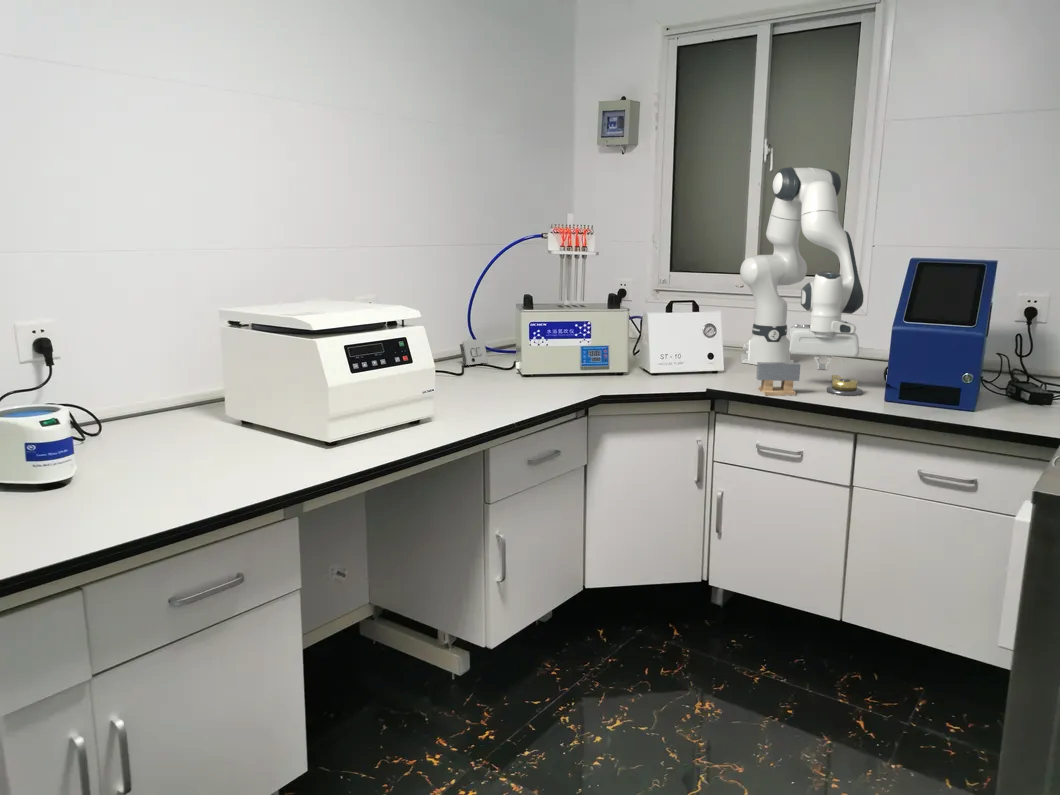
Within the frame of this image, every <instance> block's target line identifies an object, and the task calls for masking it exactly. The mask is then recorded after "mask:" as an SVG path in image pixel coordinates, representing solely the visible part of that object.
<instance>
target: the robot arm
mask: <svg viewBox="0 0 1060 795" xmlns="http://www.w3.org/2000/svg"><path fill="white" fill-rule="evenodd" d="M773 176H774V177H773V179H772V184H771V187H772V188H771V189H772V193H773V195H774V197H775V198H774V201H773V203H772V208H771V211H770V214H769V220H768V223H767V227H766V232H765V236H766V239H767V240H768V241H769V243H771V244H773V245H772V246H773V253H772V254H757V255H753V256H750V257H747V258H745V259H744V260H743V262H742V263H741V266H740V270H739V274H740V278H741V280H742V282H743V283H744V284H745V285H747V287H748V288H749V289H750V291H751V294H752V296H753V300H754V301H753V302H754V323H753V324H752V328H751V333H752V334H751V336H750V338H749V339H748V341H747V342H746V343H743V344H742V350H743V351H745V353H741V354H740V362H741V363H742V364H747V365H749V364H750V365H754V366H755V365H756V366H757V362H786V363H795V361H794V359H791V355H804V356H806V355H807V356H813V357H814V358H813V359H814V361H815V363H816V365H817V366H816V369H817V370H818V371H828V370H829V369H828V366H829V365H830V363H831V361H832V360H833V357H839V358H840V357H841V358H842V357H844V358H857V357H858V356H859V354H860V343H859V342H860V341H859V337H858V334H857V333H856V331H857V325H856V324H854V323H851V322H849V321H844V320H842V314H848V315H849V314H850V315H852V314H854V313H855V312H857V311H858V310H859V309H860V308H861V307H862V306H863V305H864V290H863V287H862V283H861V280H860V278H859V273H858V266H857V260H856V255H855V250H854V246H853V242H852V237H851V236H850V234H849V232H848V231H846V230H844V228H843V227H842V225H841V222H840V219H839V206H838V196H839V194H840V191H841V188H842V180H841V176H840V175H839V173H838V172H836V171H834V170H831V169H822V168H816V167H792V166H791V167H783V168H780V169H779V170H777V172H776V173H775V174H774V175H773ZM801 233H802V234H803V236H804V238H806V239H807V240H808V241H809V242H810V243H813V244H814V245H816V246H819V247H822V248H824V249H825V248H826V249H828V250H829V251H831V252H832V253H834V254H835V255H836V256H837V258H838V261H839V265H840V270H841V271H840V272H841V274H840V273H839V272H835V271H829V270H828V271H820V272H817V273H816V274H815V275H814V278H813V279H814V280H813V281H811V282H807V283H806V284H805V285H804V286H803V287H802V288H801V292H800V305H801V307H802V308H803V309H805V310H806V311H807V312H811V314H810V320H809V321H810V322H809V323H810V324H797V323H796V324H795V325H793V326H791V327H790V328H789V333H788V325H787V318H788V317H787V315H788V303H787V301H786V300H785V299H784V298H782V297H781V296H780V295H779V292H778V286H779V287H780V286H791V285H794V284H798V283H800V282H802V281H803V280H804V279H805V277H806V276H807V272H808V266H807V261H806V260H805V259H804V258H803V256H802V255H801V252H800V246H799V241H800V240H799V238H800V234H801ZM788 334H789V337H790V339H789V338H788V337H787V335H788ZM821 356H822V357H824V356H825V357H826V359H827V361H826V362H825V363H821V362H820V361H819V359H820V357H821Z"/></svg>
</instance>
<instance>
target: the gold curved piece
mask: <svg viewBox="0 0 1060 795" xmlns="http://www.w3.org/2000/svg"><path fill="white" fill-rule="evenodd" d="M831 382H832V385H831V386H832V388H833V389H836V390H841V391H855V390H857V388H858V380H856V379H852V378H843V377H841V376H840V375H838V374H832V375H831Z"/></svg>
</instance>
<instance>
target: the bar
mask: <svg viewBox="0 0 1060 795" xmlns="http://www.w3.org/2000/svg"><path fill="white" fill-rule="evenodd" d="M800 376H801V363H799V362H794V363H786V362H757V365H756V380H757V381H762V380H773V382H774V381H778V382H779V381H793V382H800Z"/></svg>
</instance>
